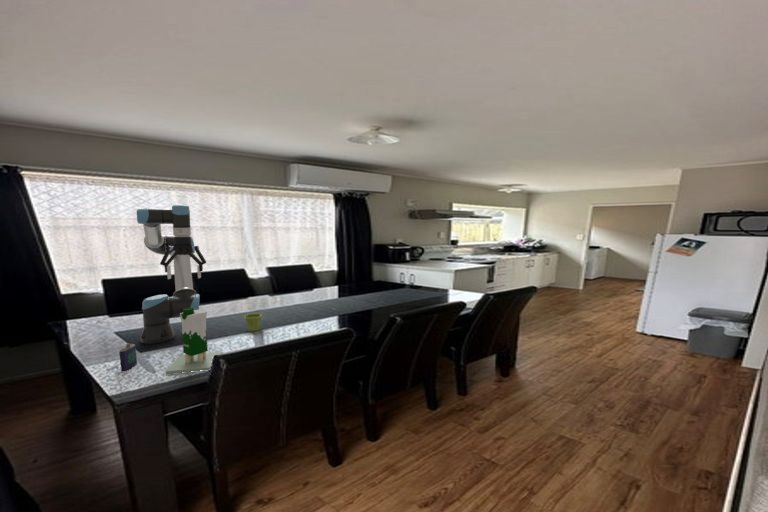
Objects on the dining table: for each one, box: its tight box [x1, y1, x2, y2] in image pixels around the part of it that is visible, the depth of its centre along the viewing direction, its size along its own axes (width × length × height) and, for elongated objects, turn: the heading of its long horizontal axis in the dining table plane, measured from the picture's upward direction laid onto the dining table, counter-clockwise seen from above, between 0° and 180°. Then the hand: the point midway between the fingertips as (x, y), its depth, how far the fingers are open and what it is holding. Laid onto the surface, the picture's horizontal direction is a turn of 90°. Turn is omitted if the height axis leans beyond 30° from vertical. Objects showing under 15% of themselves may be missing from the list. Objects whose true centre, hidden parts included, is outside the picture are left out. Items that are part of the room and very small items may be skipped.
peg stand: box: [165, 351, 223, 375], centre depth 151 cm, size 18×18×6 cm
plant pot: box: [244, 313, 263, 333], centre depth 198 cm, size 9×9×9 cm
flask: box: [118, 343, 138, 372], centre depth 147 cm, size 9×3×11 cm, turn 8°
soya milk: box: [179, 308, 208, 356], centre depth 150 cm, size 9×9×20 cm
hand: (184, 278), depth 172 cm, fingers open, 13 cm apart
